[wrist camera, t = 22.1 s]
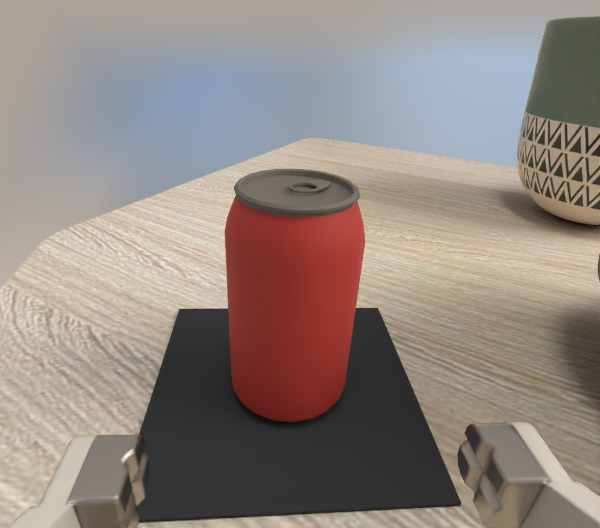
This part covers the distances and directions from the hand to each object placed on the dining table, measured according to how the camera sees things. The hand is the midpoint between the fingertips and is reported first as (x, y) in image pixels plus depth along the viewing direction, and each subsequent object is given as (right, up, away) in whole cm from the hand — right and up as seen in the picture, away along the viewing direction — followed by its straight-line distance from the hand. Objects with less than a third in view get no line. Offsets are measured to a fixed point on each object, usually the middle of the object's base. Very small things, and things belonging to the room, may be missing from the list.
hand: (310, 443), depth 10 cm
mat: (-1, -3, +14) cm, 14 cm away
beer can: (-1, -3, +14) cm, 14 cm away
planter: (+36, +11, +42) cm, 56 cm away
